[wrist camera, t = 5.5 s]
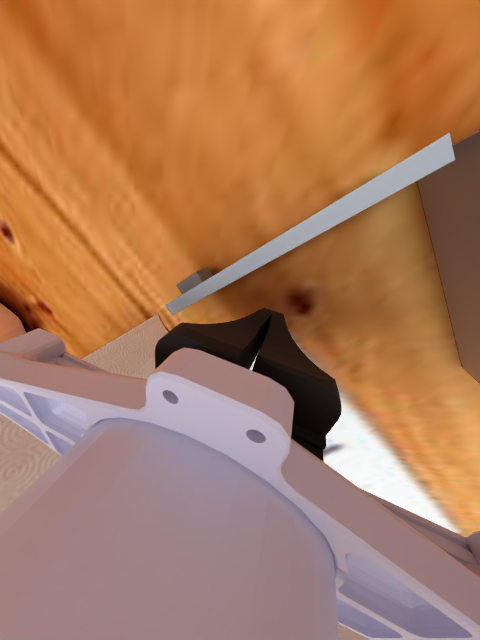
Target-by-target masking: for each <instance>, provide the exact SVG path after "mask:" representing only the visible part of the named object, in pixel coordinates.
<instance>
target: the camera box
mask: <svg viewBox="0 0 480 640" xmlns="http://www.w3.org/2000/svg"><path fill="white" fill-rule="evenodd" d="M452 147H453V152H454V156H455V160H454V161H452V162H450V163H448V164H446V165H445V166H443V167H441V168H439V169H437V170H435V171H434V172H432V173H430V174H428V175H426V176H425V177H423V178H421V179H419V180H417V183H418V187H419V191H420V195H421V199H422V203H423V208H424V212H425V216H426V220H427V224H428V228H429V233H430V237H431V241H432V245H433V249H434V253H435V257H436V262H437V266H438V270H439V274H440V278H441V282H442V286H443V291H444V295H445V299H446V303H447V307H448V311H449V315H450V320H451V324H452V328H453V332H454V336H455V340H456V345H457V349H458V353H459V357H460V361H461V365H462V367H463V368H464V369H465V370H466V371H467V372H468V373H469V374H470V375H471V376H472V377H473V378H474V379H475V380H476V381H477V382H478V383H480V130H478V131H476V132H474V133H472V134H471V135H469V136H467V137H465V138H464V139H462V140H460V141H458V142H457V143H455V144H453V145H452Z"/></svg>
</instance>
